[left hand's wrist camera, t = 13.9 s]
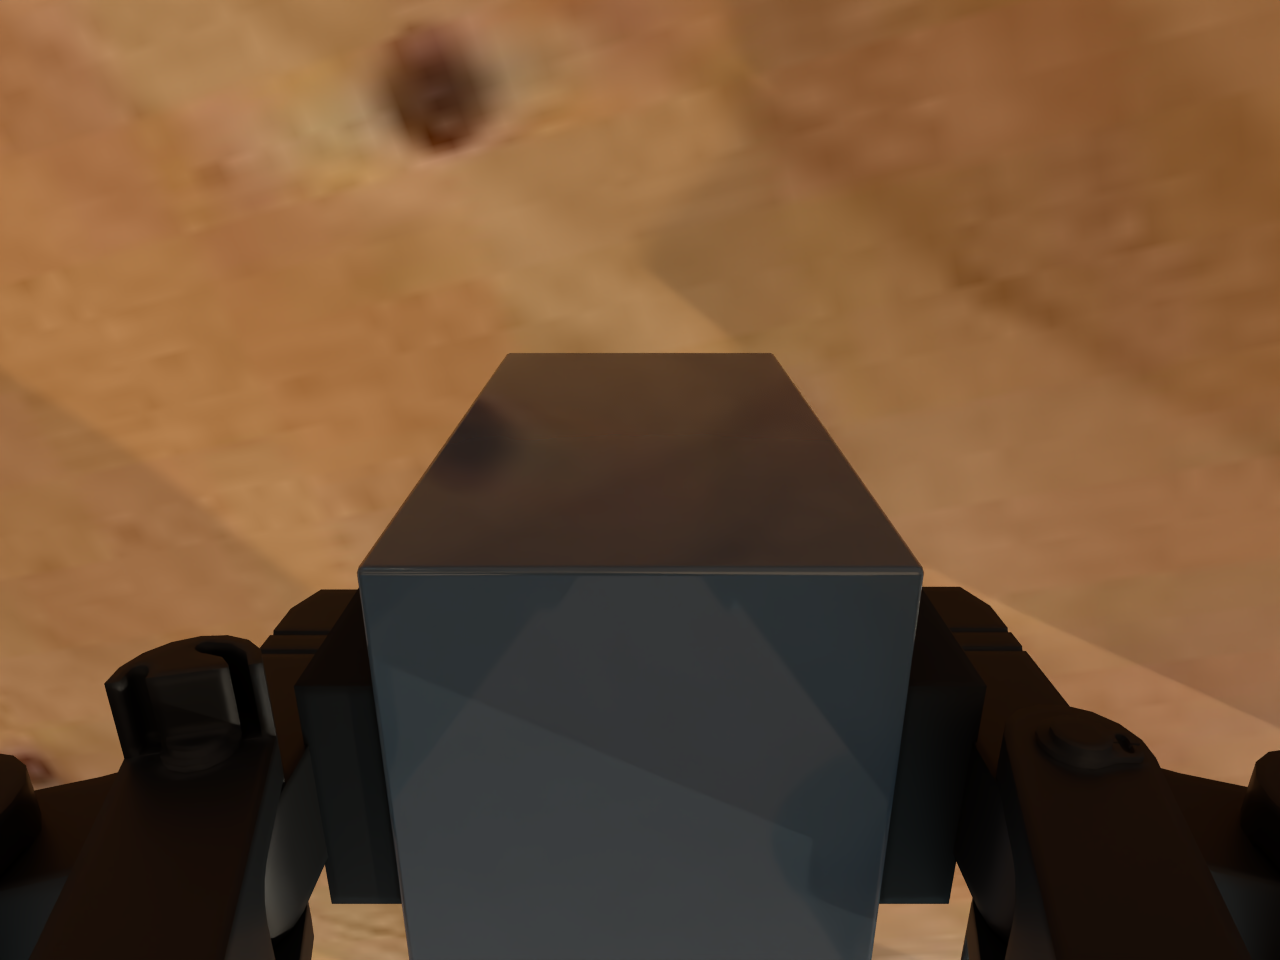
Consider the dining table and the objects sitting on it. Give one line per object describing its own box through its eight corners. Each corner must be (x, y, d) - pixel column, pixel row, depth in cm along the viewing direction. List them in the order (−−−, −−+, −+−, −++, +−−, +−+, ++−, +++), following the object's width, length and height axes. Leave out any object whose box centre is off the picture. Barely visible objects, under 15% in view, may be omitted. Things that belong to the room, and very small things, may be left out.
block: (521, 610, 17) (413, 1013, 9) (506, 352, 16) (352, 568, 7) (758, 610, 17) (866, 1013, 9) (773, 352, 16) (927, 568, 7)
